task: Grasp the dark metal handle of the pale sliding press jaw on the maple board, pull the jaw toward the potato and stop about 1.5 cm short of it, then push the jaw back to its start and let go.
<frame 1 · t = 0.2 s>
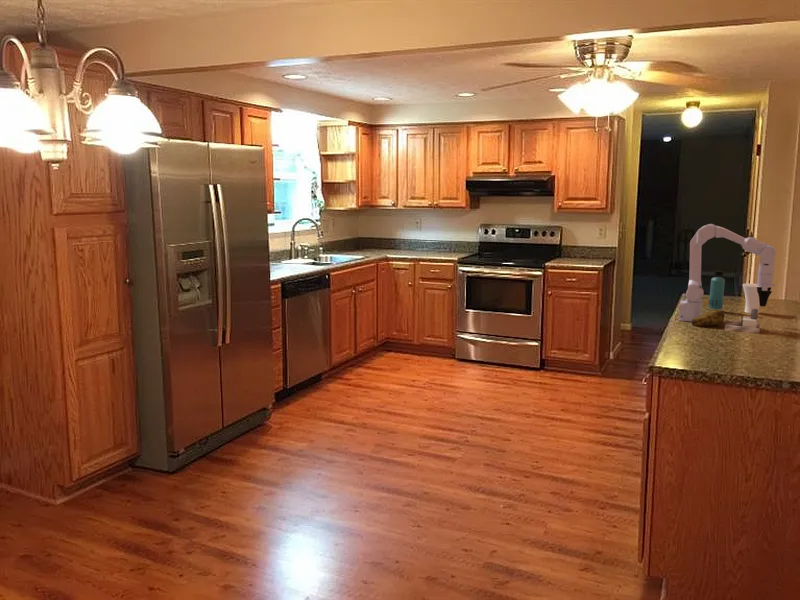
hand: (762, 304, 290), 10 cm above the countertop, fingers open, 7 cm apart
press jaw: (749, 318, 283), point 6 cm above the countertop, slide at 0.0 cm
press board: (741, 331, 285), on the countertop
beverage bottle: (715, 311, 329), on the countertop
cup: (751, 312, 326), on the countertop
potato: (707, 328, 291), on the countertop
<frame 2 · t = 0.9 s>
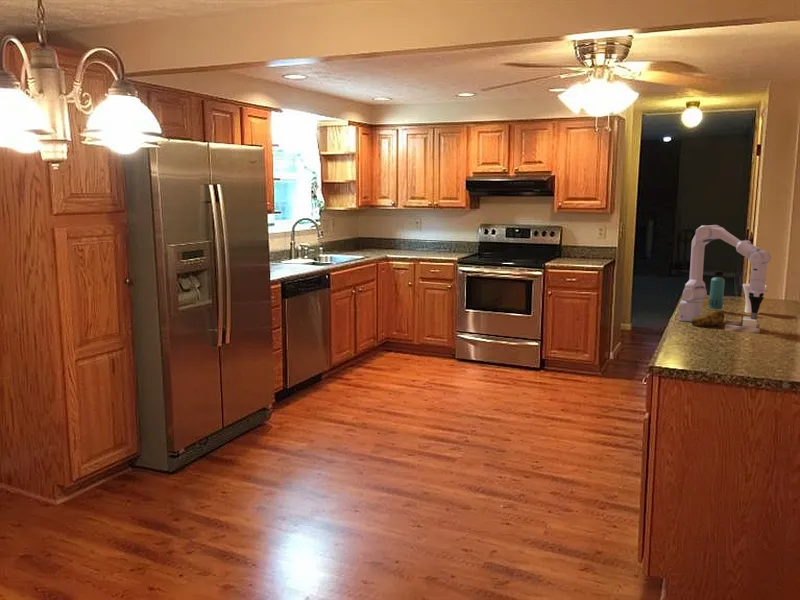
hand: (754, 311, 281), 9 cm above the countertop, fingers open, 7 cm apart
nothing on the countertop moved.
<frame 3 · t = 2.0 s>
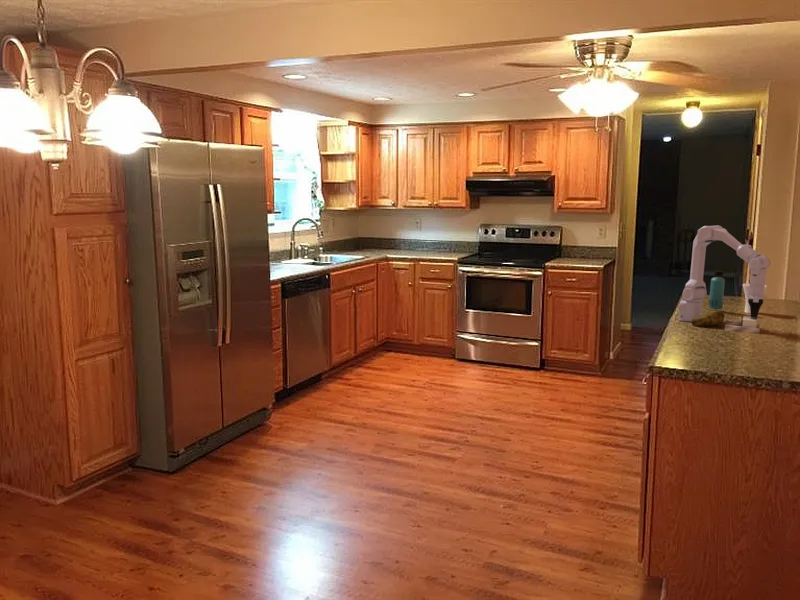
hand: (754, 316, 282), 7 cm above the countertop, fingers closed on press jaw, 2 cm apart
press jaw: (749, 318, 283), point 6 cm above the countertop, slide at 0.0 cm, touching gripper
everything else where it was.
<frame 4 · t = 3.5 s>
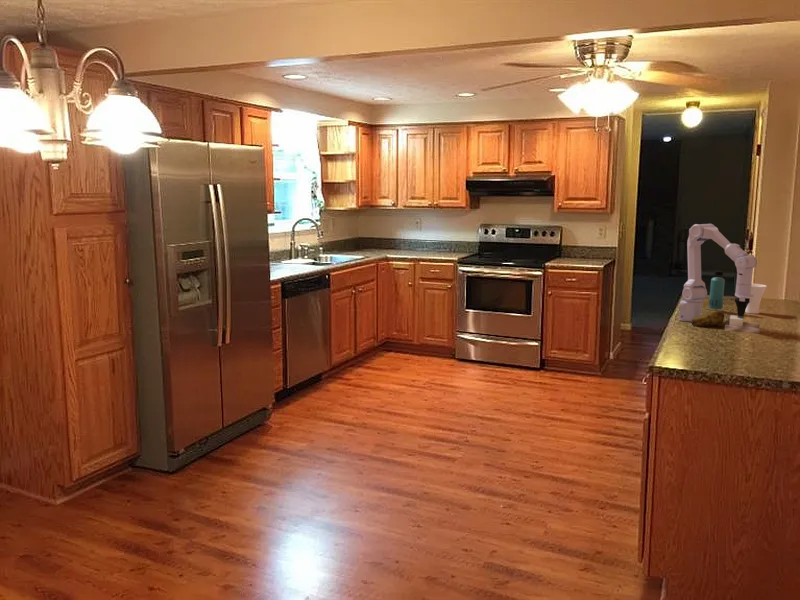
hand: (740, 315, 284), 7 cm above the countertop, fingers closed on press jaw, 2 cm apart
press jaw: (736, 317, 285), point 6 cm above the countertop, slide at 4.9 cm, touching gripper
everything else where it was.
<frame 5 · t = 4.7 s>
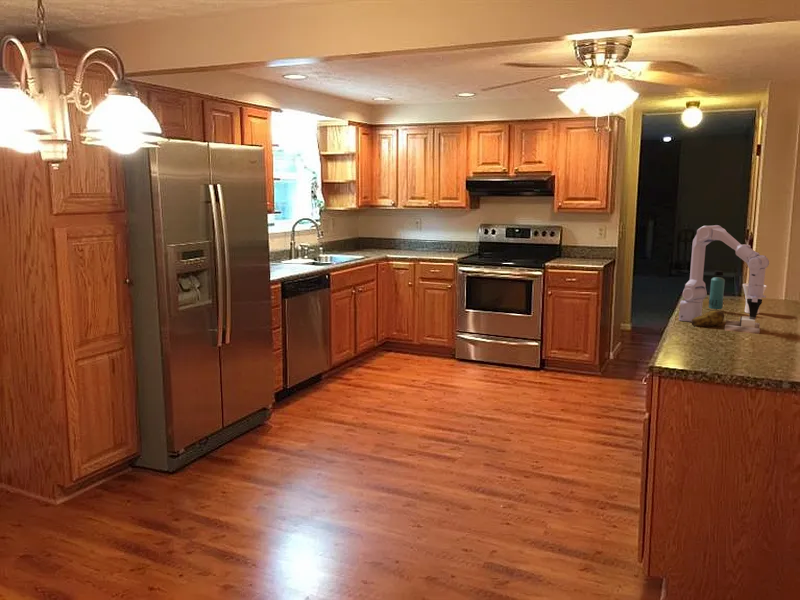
hand: (752, 316, 282), 7 cm above the countertop, fingers closed on press jaw, 2 cm apart
press jaw: (747, 318, 283), point 6 cm above the countertop, slide at 0.5 cm, touching gripper
everything else where it was.
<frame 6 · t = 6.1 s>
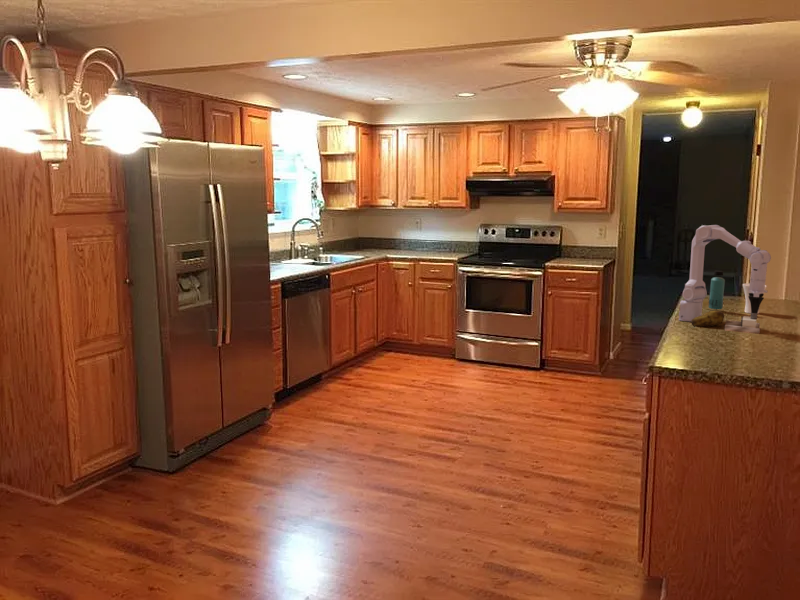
hand: (754, 311, 282), 9 cm above the countertop, fingers open, 7 cm apart
press jaw: (749, 318, 283), point 6 cm above the countertop, slide at 0.1 cm
everything else where it was.
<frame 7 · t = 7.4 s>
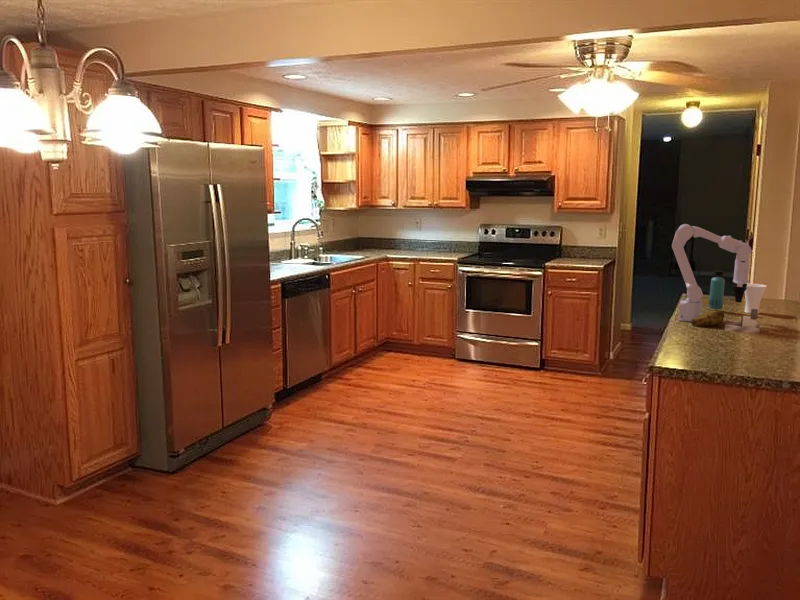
hand: (738, 300, 298), 10 cm above the countertop, fingers open, 7 cm apart
nothing on the countertop moved.
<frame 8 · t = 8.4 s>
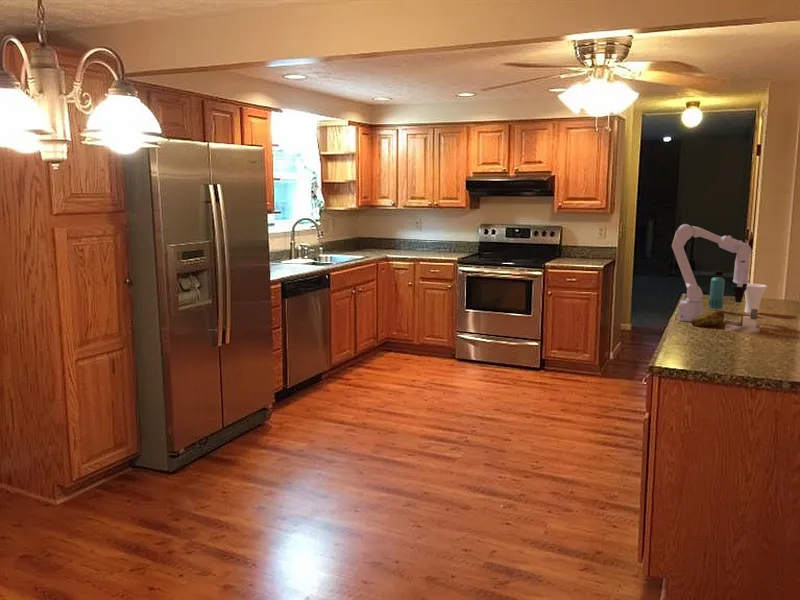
hand: (738, 300, 298), 10 cm above the countertop, fingers open, 7 cm apart
nothing on the countertop moved.
at the end: press jaw slide at 0.1 cm; potato moved 0.3 cm from its start; the gripper is holding nothing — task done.
